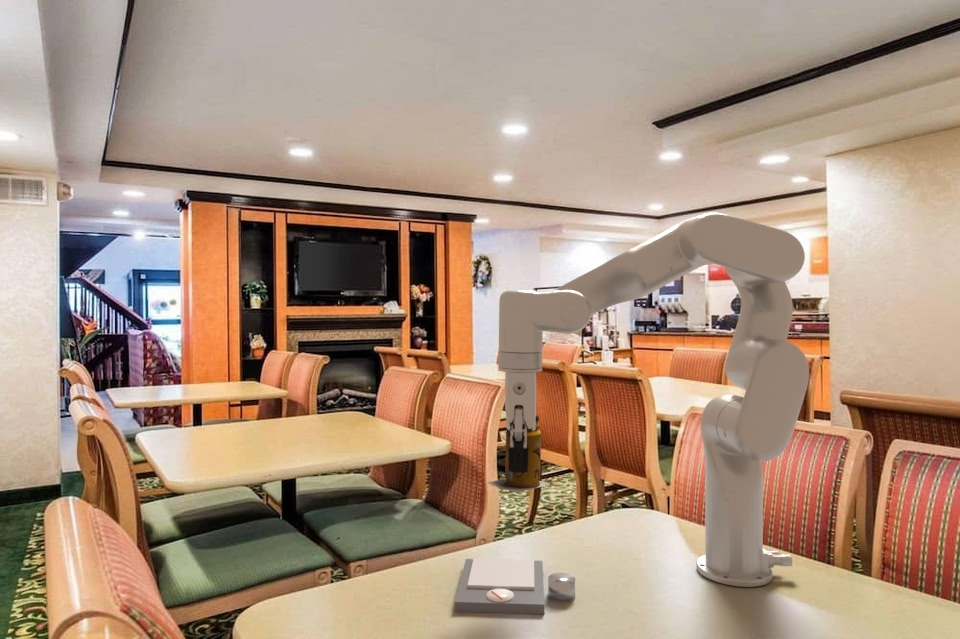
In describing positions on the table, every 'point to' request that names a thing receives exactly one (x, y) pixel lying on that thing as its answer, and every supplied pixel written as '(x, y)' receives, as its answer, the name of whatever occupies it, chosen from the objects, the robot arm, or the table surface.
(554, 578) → the knob
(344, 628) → the table surface
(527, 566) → the scale
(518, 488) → the condiment
